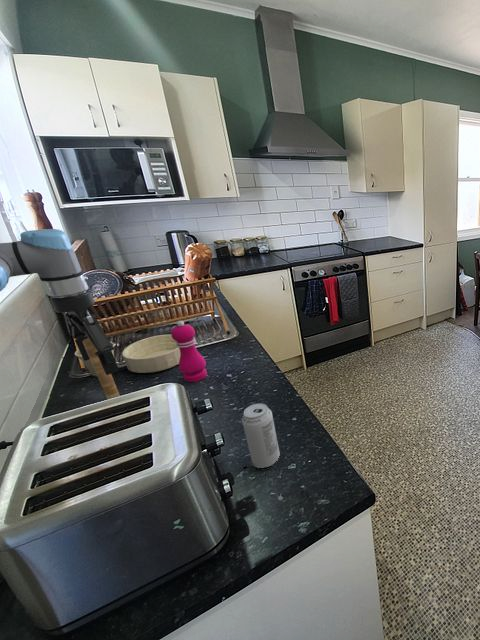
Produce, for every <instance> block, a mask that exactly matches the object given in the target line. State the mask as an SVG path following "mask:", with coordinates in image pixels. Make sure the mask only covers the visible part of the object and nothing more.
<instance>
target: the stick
mask: <svg viewBox="0 0 480 640" xmlns="http://www.w3.org/2000/svg"><path fill="white" fill-rule="evenodd" d="M82 342H83V344H84V347H85V349H86V351H87V354H88V356H89V358H90V361H91V363H92V365H93V368H94V370H95V372H96V374H97V376H96V377H97V379H98V381H99V384H100V386H101V389H102V390H103V393H104V396H105V397H106V400H107V399H110V398H113V397H117V396H120V397H121V395H120V392H119V390H118V388H117V385H116V383H115V380H114V377H113V374H109V375H106V373H105V371H104V369H103V367H102V364H101V362H100V360H99V357H98V355H95V352H97V350H96V349H95V347H94V346H93V344H92V343H91V341H90V340H89V338H88V339H85V340H83V341H82Z"/></svg>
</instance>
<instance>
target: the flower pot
mask: <svg viewBox="0 0 480 640" xmlns="http://www.w3.org/2000/svg"><path fill="white" fill-rule="evenodd" d="M110 343H111V344H112V346H113V347H114V348H115V342H112V341H110ZM103 348H104V347H103ZM111 351H112V354H113V356H114V357H115V352H114V351H115V349H114V350H111ZM74 356H76V357H77V358H78V359H80V360H81V362H82V364H84V366H85V367H86V368H87V370H88V372H89V373H90V374H91V376H92V377H97V374H96V372H95V370H94V368H93V365H92V363H91V361H90V359H89V360H86V361H84V359H83V357H82V355H81V353H80V351H79V348H78V349H77V350H76V351H75V352H74Z"/></svg>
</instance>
